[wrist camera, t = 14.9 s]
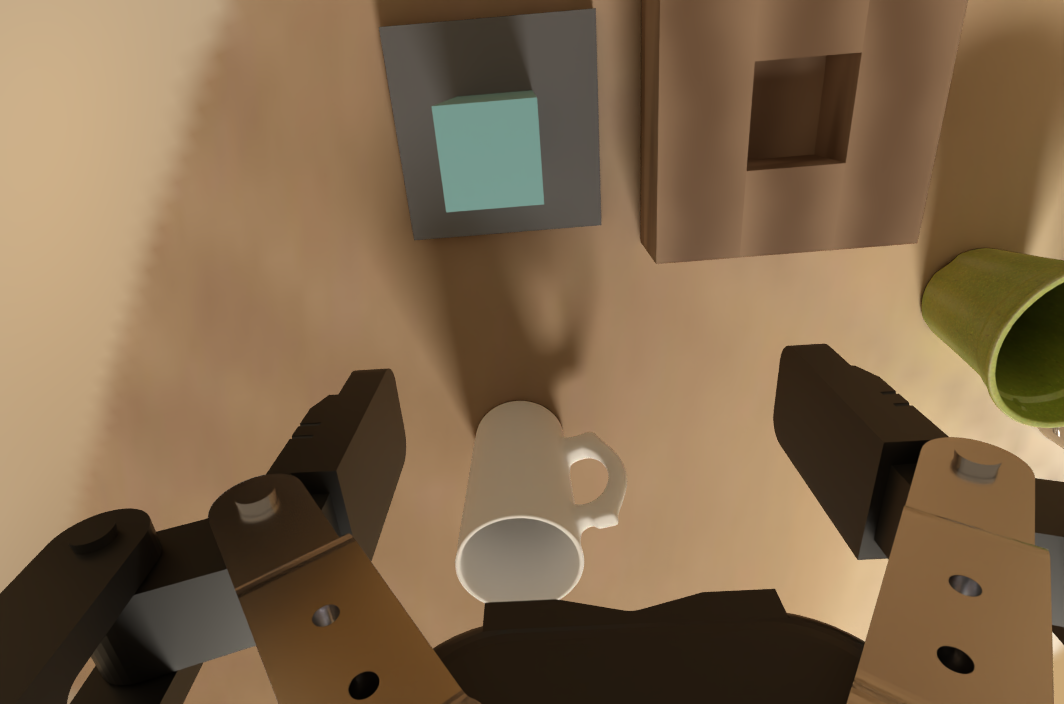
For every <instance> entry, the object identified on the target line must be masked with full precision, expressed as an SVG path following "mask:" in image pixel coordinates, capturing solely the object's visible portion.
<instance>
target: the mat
mask: <svg viewBox="0 0 1064 704" xmlns="http://www.w3.org/2000/svg"><path fill="white" fill-rule="evenodd" d="M379 31H380V37H381V43H382V49H383V55H384V61H385V67H386V73H387V79H388V85H389V91H390V97H391V103H392V109H393V115H394V121H395V127H396V134H397V140H398V146H399V152H400V158H401V164H402V170H403V176H404V182H405V188H406V194H407V200H408V206H409V212H410V218H411V224H412V230H413V236H414V240H423V239H435V238H448V237H460V236H472V235H485V234H497V233H509V232H522V231H534V230H547V229H559V228H571V227H584V226H596V225H601V194H600V157H599V119H598V81H597V43H596V8H594V9H582V10H571V11H559V12H548V13H536V14H525V15H513V16H502V17H490V18H479V19H467V20H456V21H444V22H433V23H421V24H410V25H398V26H387V27H379ZM529 90H532V91H533V92H534V94H535V95H536V97H537V104H538V119H539V134H540V149H541V164H542V179H543V194H544V204H543V205H530V206H518V207H506V208H494V209H481V210H469V211H457V212H446V207H445V200H444V193H443V186H442V178H441V171H440V164H439V157H438V150H437V142H436V135H435V128H434V121H433V114H432V106H434V105H436V104H439V103H441V102H444V101H447V100H449V99H452V98H455V97H458V96H470V95H482V94H493V93H505V92H517V91H529Z"/></svg>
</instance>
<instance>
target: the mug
mask: <svg viewBox="0 0 1064 704" xmlns="http://www.w3.org/2000/svg"><path fill="white" fill-rule="evenodd" d="M585 458H593V459H596V460H598V461H600V462H602V463H603V464H604V466H605V467H606V469H607V471H608V474H609V479H608V484H607V486H606V488H605V490H604V492H603V493H602V494H601V495H600V496H599V497H598V498H597V499H596V500H594V501H592V502H590V503H587V504H582V505H577V504H575V502H574V496H573V490H572V484H571V477H570V466H571V465H572V464H573V463H574V462H576V461H578V460H581V459H585ZM626 487H627V474H626V470H625V467H624V464H623V462H622V461H621V459H620V457H619V456H618V455H617V453H616V452H615V451H614V450H613V449H612V448H610V447H609V446H608V445H607V444H606V443H605V442H604V441H602V440H601V439H600V438H599V437H598V436H597V435H596V434H595V433H593V432H586V433H584V434H581V435H578V436H574V437H570V438H564V434H563V430H562V427H561V424H560V422H559V421H558V419H557V418H556V416H555V415H554V414H553V413H552V412H551V411H549V410H548V409H546V408H545V407H543V406H541V405H539V404H536V403H533V402H528V401H512V402H507V403H504V404H501V405H499V406H497V407H495V408H493V409H492V410H491V411H489V412H488V413H487V414H486V415H485V416H484V418H483V419H482V420H481V422H480V424H479V426H478V429H477V432H476V437H475V442H474V447H473V453H472V459H471V466H470V472H469V479H468V485H467V491H466V497H465V503H464V509H463V515H462V521H461V527H460V534H459V540H458V548H457V554H456V561H455V566H456V573H457V576H458V579H459V581H460V582H461V584H462V585H463V587H464V588H465V589H466V590H467V591H468V592H469V593H470V594H471V595H472V596H474V597H475V598H477V599H478V600H480V601H482V602H484V603H486V602H507V601H528V600H549V599H557V600H560V599H561V598H563V597H564V596H565V595H567V594H568V593H569V592H570V591H571V590H572V589H573V588H574V587H575V585H576V584H577V583H578V581H579V579H580V577H581V575H582V572H583V568H584V555H583V550H582V547H581V534H582V532H583V531H584V530H585V529H587V528H589V527H592V526H595V527H597V528H599V529H601V528H606V527H609V526H615V525H617V524H618V514H619V511H620V508H621V505H622V502H623V499H624V496H625V492H626Z"/></svg>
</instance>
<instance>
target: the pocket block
mask: <svg viewBox="0 0 1064 704" xmlns="http://www.w3.org/2000/svg"><path fill="white" fill-rule="evenodd" d="M967 3H968V0H642V9H641V243H642V245H643V246H644V247H645V249H646V250H647V252H648V253H649V254H650V256H651V257H652V259H653V260H654V262H655V263H656V264H663V263H676V262H688V261H701V260H713V259H726V258H738V257H751V256H763V255H776V254H789V253H801V252H814V251H826V250H839V249H851V248H864V247H876V246H889V245H902V244H914V243H917V242H918V237H919V233H920V228H921V223H922V218H923V214H924V209H925V204H926V199H927V194H928V190H929V185H930V180H931V175H932V170H933V166H934V161H935V156H936V151H937V147H938V142H939V137H940V132H941V127H942V123H943V118H944V113H945V108H946V103H947V99H948V94H949V89H950V84H951V80H952V75H953V70H954V65H955V60H956V56H957V51H958V46H959V41H960V36H961V32H962V27H963V22H964V17H965V12H966V8H967Z"/></svg>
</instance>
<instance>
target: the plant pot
mask: <svg viewBox="0 0 1064 704" xmlns="http://www.w3.org/2000/svg"><path fill="white" fill-rule="evenodd" d="M922 316H923V319H924V320H925V322H926V324H927V325H928V327H929V328H930V329H931V330H932V332H933V333H934V334H936V335H937V336H938V337H939V338H940V339H941V340H942V341H943V342H944V343H946V344H947V345H948V346H949V347H950V348H951V349H952V350H953V351H954V352H956V353H957V354H958V355H959V356H960V357H961V358H962V359H963V360H964V361H965V362H967V363H968V364H969V365H970V366H971V367H972V368H973V369H974V370H975V371H976V372H977V373H978V374H979V375H980V376H981V378H982V380H983V382H984V383H985V385H986V386H987V389H988V392H989V394H990V396H991V398H992V400H993V402H994V403H995V405H996V406H997V407H998V408H999V409H1000V410H1001V411H1002V412H1003V413H1004V414H1006V415H1007V416H1008V417H1010V418H1011V419H1013V420H1015V421H1017V422H1019V423H1022V424H1025V425H1028V426H1034V427H1040V428H1055V427H1064V261H1063V260H1057V259H1051V258H1044V257H1039V256H1033V255H1027V254H1022V253H1016V252H1011V251H1005V250H999V249H993V248H980V249H974V250H970V251H967V252H964V253H962V254H960V255H958V256H957V257H956V258H955V259H954V260H953V261H952V262H950V263H949V264H948V265H947V266H945V267H944V268H942V269H941V270H939V271H938V272H936V273H935V274H934V275H933V277H932V278H931V280H930V281H929V283H928V285H927V287H926V289H925V291H924V294H923V298H922Z"/></svg>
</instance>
